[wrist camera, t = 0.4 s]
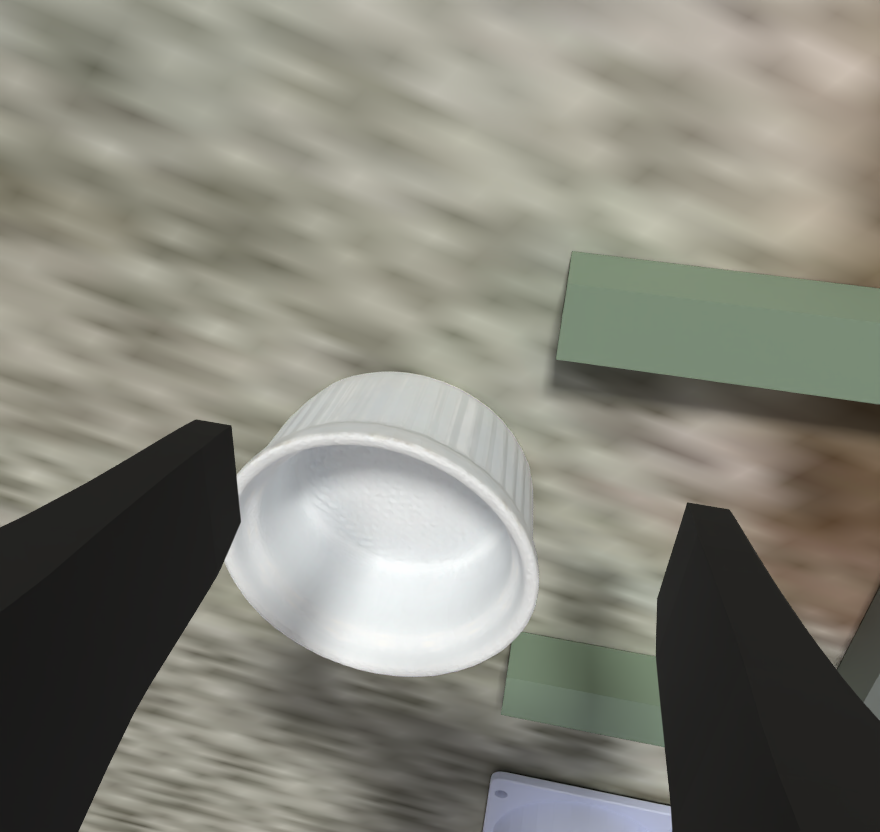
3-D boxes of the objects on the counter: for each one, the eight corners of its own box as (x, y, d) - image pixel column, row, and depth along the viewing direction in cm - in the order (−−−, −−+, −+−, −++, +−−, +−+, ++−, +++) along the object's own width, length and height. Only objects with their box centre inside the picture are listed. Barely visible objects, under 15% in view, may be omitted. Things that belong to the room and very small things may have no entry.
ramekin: (600, 530, 25) (598, 637, 21) (376, 605, 28) (341, 707, 25) (449, 298, 21) (414, 380, 18) (218, 420, 25) (151, 507, 21)
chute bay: (854, 733, 27) (869, 787, 25) (507, 667, 29) (500, 714, 27) (1094, 314, 18) (1141, 356, 16) (572, 251, 20) (568, 283, 18)
